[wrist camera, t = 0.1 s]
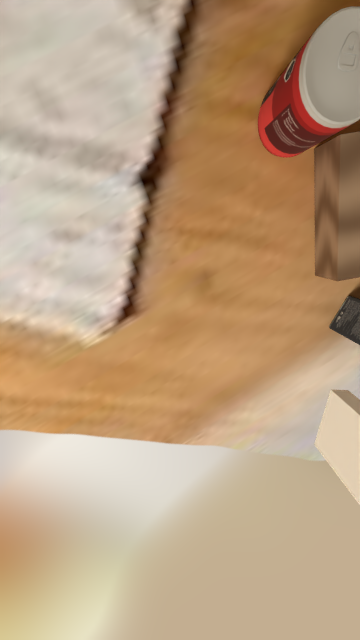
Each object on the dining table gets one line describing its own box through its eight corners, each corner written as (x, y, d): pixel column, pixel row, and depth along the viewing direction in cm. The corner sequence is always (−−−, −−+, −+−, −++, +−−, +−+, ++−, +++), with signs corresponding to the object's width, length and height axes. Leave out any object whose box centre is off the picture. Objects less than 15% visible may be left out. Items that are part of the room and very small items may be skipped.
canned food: (315, 75, 31) (395, -6, 21) (318, 152, 34) (391, 115, 23) (251, 89, 31) (299, 15, 21) (259, 165, 34) (305, 134, 23)
